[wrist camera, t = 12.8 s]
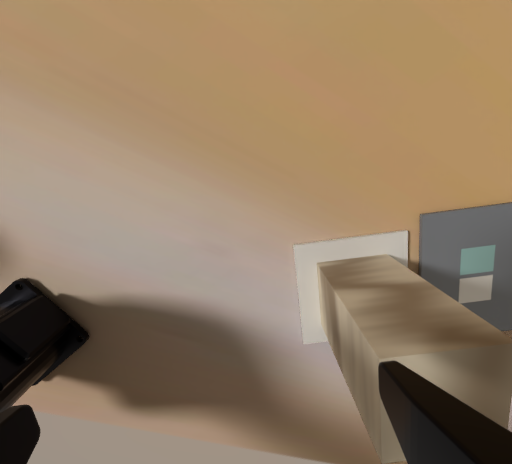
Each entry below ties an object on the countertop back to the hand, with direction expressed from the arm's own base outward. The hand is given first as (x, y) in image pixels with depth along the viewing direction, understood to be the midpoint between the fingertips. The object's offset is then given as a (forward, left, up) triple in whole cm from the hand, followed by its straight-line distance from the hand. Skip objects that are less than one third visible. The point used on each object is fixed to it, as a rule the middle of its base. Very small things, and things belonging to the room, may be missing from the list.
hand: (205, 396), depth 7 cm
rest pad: (+4, -8, -13) cm, 16 cm away
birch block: (+4, -8, -13) cm, 16 cm away
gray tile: (+13, -14, -13) cm, 23 cm away
